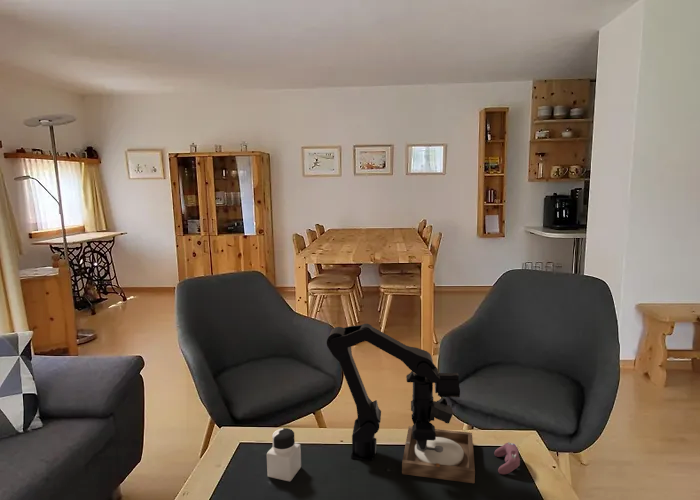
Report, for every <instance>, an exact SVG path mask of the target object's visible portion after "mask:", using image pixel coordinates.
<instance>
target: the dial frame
mask: <svg viewBox="0 0 700 500" xmlns="http://www.w3.org/2000/svg"><path fill="white" fill-rule="evenodd" d="M412 426H413V425H412ZM412 426H410V425H409V426H408V429H407V435H406V438H405V444H404V445H405V446H404V451H403V455H402V461H401V462H402V463H401V475H409V476H416V477H423V478H431V479H437V480H438V479H439V480H445V481H453V482H454V481H455V482H461V483H468V484H475V481H476V480H475V478H476V477H475V475H476V470H475V469H476V468H475V454H474V442H473V440H474V439H473V432H467V431H460V430H449V429H448V430H447V429H439V428H435V432H436V437H443V438H447V439H450V440H452V441H454V442H456V443H457V444H459V445H460V446H461V447H462V449H463V452H464V456H463V461H462V462H461V463H460V464H459V465H457V466H449V465H441V464H438V463H436V464H433V463H425V462H420V461H419V460H418V459H417V457H416V455H415V445H416V443H417V440H415V439H413V434H412Z"/></svg>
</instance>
